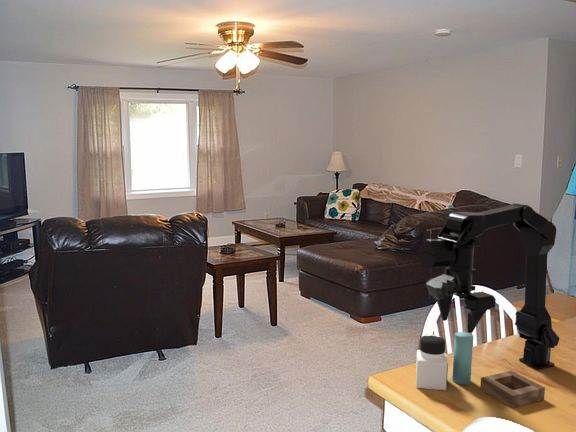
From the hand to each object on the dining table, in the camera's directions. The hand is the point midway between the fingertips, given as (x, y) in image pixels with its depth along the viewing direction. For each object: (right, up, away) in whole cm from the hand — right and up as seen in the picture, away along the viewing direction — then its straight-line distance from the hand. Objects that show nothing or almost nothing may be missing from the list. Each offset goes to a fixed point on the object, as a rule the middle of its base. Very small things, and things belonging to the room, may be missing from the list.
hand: (457, 326), depth 133 cm
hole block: (+12, -16, -4) cm, 20 cm away
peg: (+2, -14, +3) cm, 15 cm away
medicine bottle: (-6, -15, +2) cm, 16 cm away
